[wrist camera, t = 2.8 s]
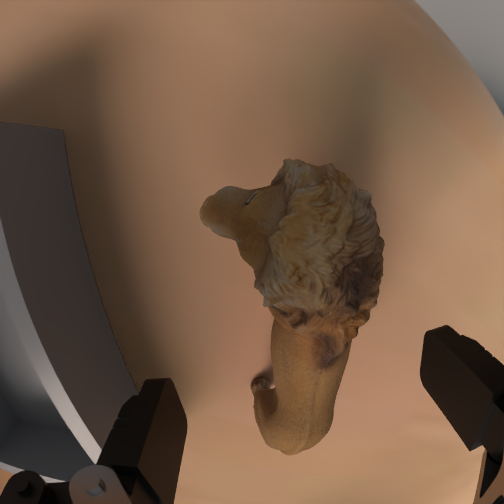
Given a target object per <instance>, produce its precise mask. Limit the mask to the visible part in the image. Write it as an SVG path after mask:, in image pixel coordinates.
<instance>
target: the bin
mask: <svg viewBox="0 0 504 504" xmlns="http://www.w3.org/2000/svg"><path fill="white" fill-rule="evenodd" d="M133 395H139V393H138V391H137V389H136V387H135V384H134V382H133V380H132V378H131V376H130V373H129V371H128V369H127V366H126V364H125V362H124V359H123V357H122V354H121V352H120V349H119V347H118V344H117V342H116V339H115V337H114V334H113V331H112V329H111V326H110V323H109V321H108V318H107V315H106V312H105V309H104V306H103V303H102V300H101V297H100V294H99V291H98V288H97V285H96V282H95V278H94V275H93V272H92V268H91V265H90V262H89V258H88V254H87V251H86V247H85V243H84V239H83V235H82V231H81V227H80V223H79V219H78V214H77V210H76V205H75V200H74V195H73V190H72V185H71V179H70V174H69V168H68V162H67V155H66V148H65V141H64V132H63V130H59V129H52V128H45V127H37V126H30V125H22V124H13V123H4V122H0V469H3V470H5V471H8V472H11V473H13V474H16V473H18V472H21V471H25V470H30V471H34V472H36V473H38V474H39V475H40V476H41V477H42V478H43V479H44V480H45V482H46V483H55V482H68V481H71V479H72V477H73V476H74V475H75V474H76V473H77V472H78V471H79V470H81V469H83V468H85V467H88V466H92V465H96V463H97V460H98V458H99V456H100V453H101V451H102V449H103V447H104V444H105V442H106V440H107V438H108V435H109V433H110V431H111V429H113V424H114V422H115V420H117V416H118V414H119V411H120V409H121V407H122V405H123V404H124V403H125V402H126V401H127V400H128V399H130V398H131V397H132V396H133Z"/></svg>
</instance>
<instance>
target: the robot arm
mask: <svg viewBox="0 0 504 504" xmlns="http://www.w3.org/2000/svg"><path fill="white" fill-rule="evenodd" d="M420 378H421V381H422V384H423V386H424V388H425V389H426V390H427V392H428V393H429V395H430V396H431V397H432V399H433V400H434V401H435V403H436V404H437V405H438V407H439V408H440V410H441V411H442V412H443V414H444V415H445V417H446V418H447V419H448V421H449V422H450V424H451V425H452V426H453V428H454V429H455V431H456V432H457V434H458V435H459V437H460V438H461V439H462V441H463V442H464V444H465V445H466V447H467V448H468V450H469V451H472V450H474V449H476V448H477V447H479V446H481V445H483V446H484V448H485V451H484V453H483V456H482V462H481V468H480V474H479V479H478V484H477V489H476V494H475V498H474V502H473V504H504V365H503V364H502V363H501V362H500V361H498V360H497V359H496V358H495V357H492V354H491V353H489V352H488V351H487V350H485V348H484V347H483V346H481V345H480V344H479V343H478V342H477V341H476V340H473V339H471V338H469V337H466V336H464V335H461V336H460V335H459V334H458V333H457V332H456V331H455V330H454V329H452V328H451V327H450V326H448V325H445V326H442V327H438V328H435V329H432V330H429V331H427V332H426V333H425V335H424V342H423V350H422V358H421V366H420ZM186 435H187V418H186V414H185V412H184V409H183V407H182V404H181V402H180V399H179V396H178V394H177V391H176V389H175V386H174V384H173V381H172V380H171V379H170V378H161V379H147V380H145V382H144V384H143V386H142V389H141V391H140V393H139V395H133V396H132V397H131V398H130V399H128V400H127V401H126V402H125V403H124V404H123V405H122V407H121V409H120V411H119V414H118V416H117V420H115V422H114V424H113V429H111V431H110V433H109V435H108V438H107V440H106V442H105V444H104V447H103V449H102V451H101V453H100V456H99V458H98V460H97V463H96V465H92V466H88V467H85V468H83V469H81V470H79V471H78V472H77V473H76V474H75V475H74V476H73V477H72V479H71V481H68V482H55V483H46V482H45V480H44V479H43V478H42V477H41V476H40V475H39V474H38V473H36V472H34V471H30V470H25V471H21V472H18V473H16V474H15V475H13V476H12V477H11V478H10V479H9V480H8V482H7V484H6V486H5V488H4V490H3V492H2V494H1V496H0V504H174V498H175V493H176V487H177V482H178V476H179V471H180V466H181V460H182V455H183V450H184V445H185V440H186Z"/></svg>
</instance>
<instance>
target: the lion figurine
mask: <svg viewBox="0 0 504 504" xmlns="http://www.w3.org/2000/svg"><path fill="white" fill-rule="evenodd" d="M371 199H372V198H371V194H370V193H369V192H368V191H367V190H362V189H358V188H357V187H356V186H355V184H354V183H353V182H352V181H351V180H350V179H349V178H347V177H346V175H345V174H344V173H342V172H340V171H338V170H336V169H335V167H334V166H333V164H331V163H330V164H327V165H325V166H321V167H319V166H314V165H311V164H306V163H305V162H303V161H301V160H298V159H297V160H291V159H285V160H284V165H283V166H282V168H281V169H280V170H279V171H278V173H277V175H276V177H275V178H274V179H273V180H272V182H271V185H270V186H267V187H262V188H258V189H253V190H245V189H241V188H238V187H234V186H226V187H224V188H222V189H220V190H219V191H218V192H217V193H215V194H214V195H212V196H209V197H208V198H207V199H206V200H205V202H204V203H203V205H202V207H201V209H200V218H201V221H202V222H203V224H204V225H205V226H207V227H210V229H211V230H212V231H213V232H214V233H216V234H217V235H219V236H222V237H226V238H229V239H233V240H235V241H236V242H237V245H238V249H239V252H240V255H241V256H242V258H243V259H244V260H245V261H246V262H247V263H248V264H249V265H250V266H251V267H252V268H253V269H254V274H255V277H256V280H255V283H254V287H255V288H256V289H258V290H259V291H260V293H261V294H262V295H263V296H264V307H266V306H268V307H269V310H270V312H271V313H272V315H273V316H274V318H275V319H274V322H273V327H272V334H271V358H272V367H273V376H274V381H275V386H276V387H275V388H274V389H270V384H269V381H268V380H266V379H264V378H259V379H255V380H254V381H253V382H252V383H251V390H252V393H253V395H254V411H255V419H256V422H257V424H258V427H259V430H260V432H261V435H262V437H263V439H264V441H265V443H266V444H267V445H268V446H270V447H271V448H274V449H277V450H280V451H281V452H282V453H283V454H285V455H295V454H298V453H299V452H301V451H304V450H307V449H310V448H311V447H313V446H314V445H316V444H317V443H318V442H319V441H321V439H322V438H323V437H324V436H325V435H326V434H327V433H328V431H329V429H330V427H331V424H332V421H333V413H334V404H335V399H336V395H337V392H338V389H339V386H340V383H341V379H342V376H343V373H344V370H345V367H346V364H347V361H348V357H349V352H350V347H351V342H352V339H353V338H355V337H356V336H357V334H358V328H359V327H360V326H362V325H364V324H365V323H366V322H367V321H368V320H369V317H370V310H371V308H373V307H375V306H376V304H377V297H378V295H379V285H380V283H381V277H382V276H383V256H382V252H383V249H384V245H385V244H384V240H383V239H382V238H381V237H380V236H379V233H380V229H379V226H378V224H377V222H376V217H377V216H376V211H375V209H374V208H373V206H372V204H371Z"/></svg>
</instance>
